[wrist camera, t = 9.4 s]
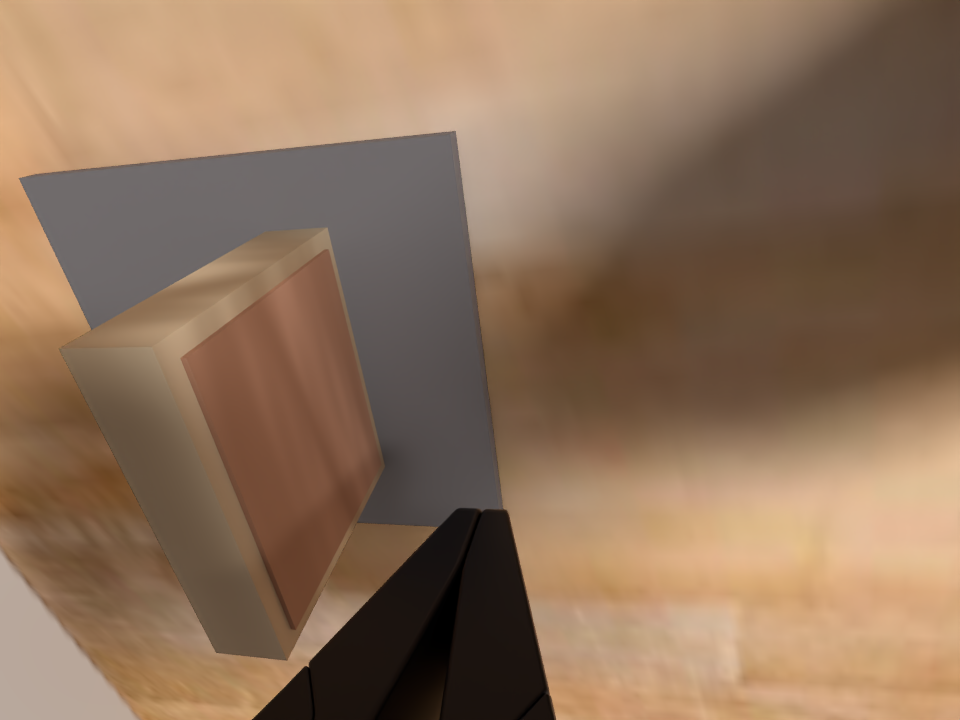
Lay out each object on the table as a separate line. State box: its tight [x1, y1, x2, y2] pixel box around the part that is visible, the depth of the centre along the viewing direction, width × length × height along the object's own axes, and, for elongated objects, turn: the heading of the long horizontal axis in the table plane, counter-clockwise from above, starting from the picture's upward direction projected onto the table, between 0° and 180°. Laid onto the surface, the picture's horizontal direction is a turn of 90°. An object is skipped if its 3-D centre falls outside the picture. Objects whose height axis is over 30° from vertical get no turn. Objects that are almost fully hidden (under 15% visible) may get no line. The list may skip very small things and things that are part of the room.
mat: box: [19, 131, 503, 527], centre depth 16 cm, size 11×11×1 cm
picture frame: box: [59, 227, 385, 660], centre depth 12 cm, size 2×7×6 cm, turn 7°
